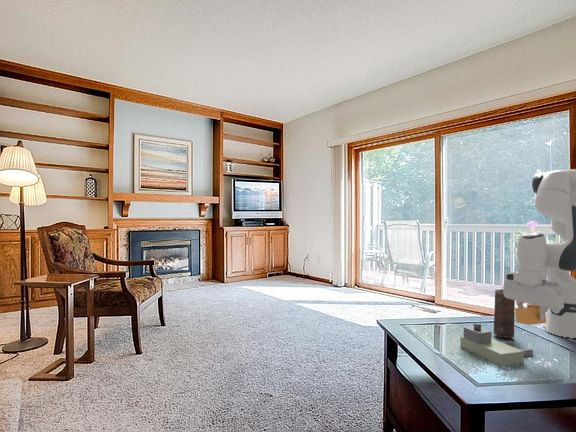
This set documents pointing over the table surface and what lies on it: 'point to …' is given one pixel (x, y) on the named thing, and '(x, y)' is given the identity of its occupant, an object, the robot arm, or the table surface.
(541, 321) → the orange lidded box
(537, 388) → the table surface
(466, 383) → the table surface
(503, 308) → the candle
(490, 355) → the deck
